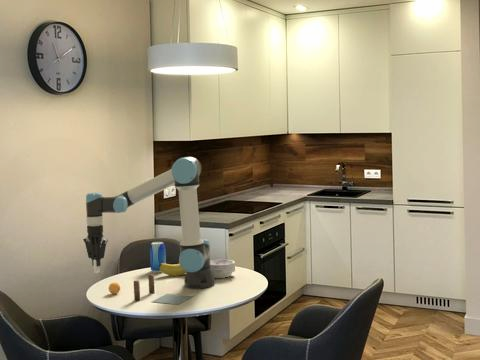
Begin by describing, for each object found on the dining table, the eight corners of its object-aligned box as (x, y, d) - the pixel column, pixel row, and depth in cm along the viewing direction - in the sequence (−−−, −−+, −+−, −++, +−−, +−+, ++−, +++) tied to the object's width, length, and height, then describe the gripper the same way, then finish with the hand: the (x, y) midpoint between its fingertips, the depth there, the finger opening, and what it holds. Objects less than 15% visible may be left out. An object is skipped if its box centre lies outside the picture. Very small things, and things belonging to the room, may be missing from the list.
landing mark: (193, 296, 280) (193, 296, 280) (178, 304, 268) (178, 304, 268) (167, 294, 286) (167, 293, 286) (151, 302, 273) (151, 301, 273)
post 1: (141, 299, 278) (140, 280, 277) (138, 301, 275) (137, 282, 275) (136, 299, 279) (135, 280, 278) (133, 300, 276) (132, 281, 276)
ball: (122, 292, 291) (122, 281, 291) (116, 295, 286) (115, 284, 286) (113, 291, 293) (112, 280, 293) (106, 294, 288) (105, 283, 288)
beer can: (163, 273, 329) (162, 244, 328) (148, 273, 331) (147, 244, 330) (168, 269, 337) (166, 241, 336) (153, 269, 339) (152, 241, 338)
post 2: (155, 292, 289) (154, 274, 288) (152, 294, 287) (151, 275, 286) (151, 292, 290) (150, 274, 290) (148, 293, 288) (147, 275, 287)
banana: (160, 278, 318) (158, 240, 317) (158, 275, 324) (156, 239, 322) (201, 274, 324) (200, 237, 323) (199, 271, 330) (198, 235, 328)
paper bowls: (227, 271, 328) (227, 257, 327) (240, 277, 314) (240, 262, 314) (202, 275, 321) (201, 261, 320) (214, 281, 307) (213, 266, 307)
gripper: (110, 224, 292) (112, 272, 293) (88, 223, 297) (90, 270, 299) (101, 226, 285) (103, 275, 287) (79, 225, 290) (81, 273, 292)
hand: (96, 272), depth 293 cm, fingers closed
